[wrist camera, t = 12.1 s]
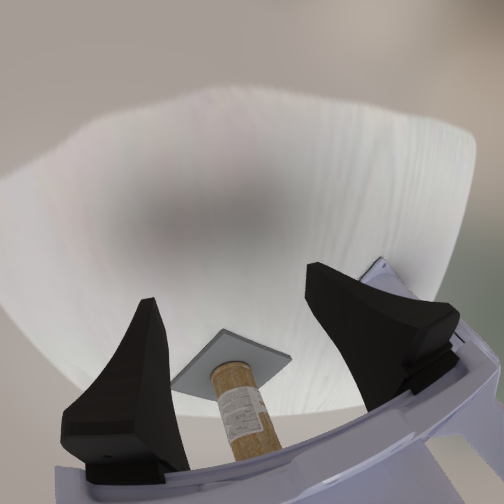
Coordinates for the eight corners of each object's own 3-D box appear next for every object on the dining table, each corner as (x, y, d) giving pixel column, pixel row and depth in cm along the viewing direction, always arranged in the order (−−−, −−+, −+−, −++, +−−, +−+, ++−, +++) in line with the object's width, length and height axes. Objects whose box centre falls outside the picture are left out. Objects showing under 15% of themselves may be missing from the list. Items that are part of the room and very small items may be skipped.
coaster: (290, 356, 30) (292, 359, 29) (236, 402, 32) (237, 405, 31) (222, 328, 25) (224, 333, 24) (168, 384, 27) (168, 388, 26)
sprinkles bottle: (253, 378, 29) (296, 481, 18) (214, 389, 28) (248, 496, 17) (248, 354, 27) (298, 472, 15) (204, 366, 26) (240, 490, 14)
